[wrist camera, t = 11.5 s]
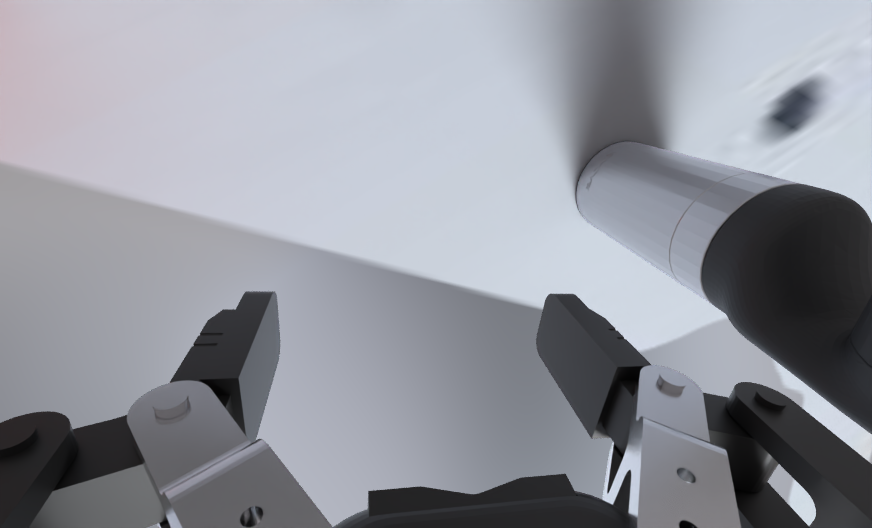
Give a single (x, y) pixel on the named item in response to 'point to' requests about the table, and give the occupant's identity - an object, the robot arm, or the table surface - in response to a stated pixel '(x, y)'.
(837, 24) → the table surface
